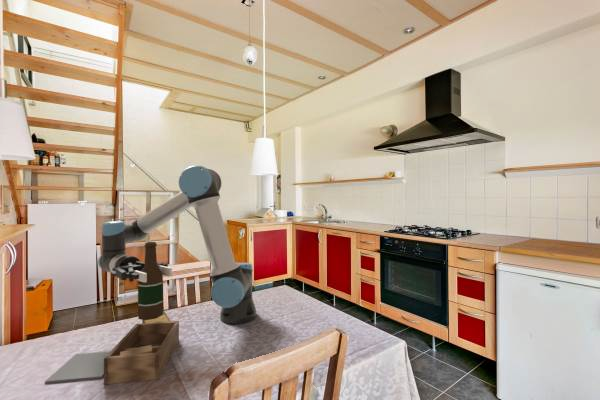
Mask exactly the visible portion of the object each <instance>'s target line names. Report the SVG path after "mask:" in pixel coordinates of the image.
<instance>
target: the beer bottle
mask: <svg viewBox="0 0 600 400" xmlns="http://www.w3.org/2000/svg"><path fill="white" fill-rule="evenodd" d="M157 245H158V244H157V241H156V242H155V241H147V242H145V243H144V248H145V249H144V251H145V252H144V253H145V254H144V263H145V264H144V268H143V269H142V271H141V272H144V273H147V282H145V283H144V282H141V281H138V280H137V281H138V282H137V317H138V319H139V320H141V321H142V320H150V319H156V318H158V317H160V316H162V315H163V310H164V277H163V276H164V275H162V272H161V270H160V268H159V267H158V265H157V262H158V260H157Z"/></svg>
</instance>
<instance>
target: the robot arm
mask: <svg viewBox="0 0 600 400" xmlns="http://www.w3.org/2000/svg"><path fill="white" fill-rule="evenodd" d="M178 187H179V189H180V191H179V192H178V193H177V194H175V195H174V196H172V197H170V198H168V199H167V200H166V201H164V202H163V203H161V204H159V205H157V206H156V207H155V208H153V209H152V210H149V212H146V213H145V214H143V215H142V216H140V217H138V218H137V219H136V220H135V221H133V222H131V223H129V224H126V222H125V221H121V220H118V221H117V220H116V221H115V220H114V221H113V220H112V221H105V222H103V223H102V227H101V228H102V229H101V255H100V256H99V257H98V260H97V264H98V267H99V268H100V269H101V270H103V271H104V272H107V273H111V275H112V277H116V278H118V279H119V280H121V281H126V280H127V279H128V282H131V283H133V282H134V280H135V281H141V282H144V283H145V282H147V273H144V272H141V271H142V269H143V268H144V264H145V261H144V262H143V261H140V259H139V258H138V257H137V256H133V255H129V254H126V244H129V243H133V242H140V241H141V240H144V239H146V237H147V236H148V234H150V233H152V232H154V230H156V229H158V228H159V227H161V226H163V225H164V224H166V223H167V222H169V221H170V220H172V219H173V218H175V217H177V216H179V215H181V214H182V213H183V212H185V211H186V210H188V209H189V208H191V207H192V208H194V210H195V214H196V216H197V221H198V223H199V227H200V231H201V234H202V238H203V241H204V244H205V247H206V252H207V255H208V258H209V261H210V265H211V268H212V269H211V271H210V273H209V276H210V280H211V284H212V285H211V289H210V297H211V300H212V301H213V302H214V303H215V304H216V305H217V306H219V307H221V310H220V316H219V317H220V318H219V319H220V321H221V322H223V323H226V324H231V325H233V324H234V325H236V324H237V325H240V324H244V323H248V322H250V321H253V320H254V319H255V318H256V317H257V309H256V306H255V303H254V299H253V270H254V269H253V265H252V263H250V262H236V261H235V257H234V254H233V251H232V250H233V249H232V247H231V243H230V240H229V236H228V233H227V230H226V227H225V223H224V220H223V216H222V213H221V210H220V206H219V200H220V199H221V194H220V190H221V188H222V179H221V176H220V175H219V174H218V173H217V172H216V171H215V170H213V169H210V168H208V167H206V166H203V165H191V166H188V167H187V168H185V169H183V171H182V172H181V173H180V175H179V177H178ZM157 265H158V267H159V268H160V270H161V272H162V275H163V276H166V277H169V278H170V277H173V268H172V267H169V264H168V263H164V262H158V261H157Z"/></svg>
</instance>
